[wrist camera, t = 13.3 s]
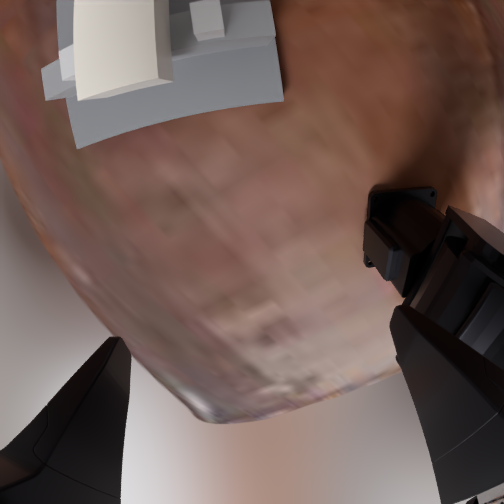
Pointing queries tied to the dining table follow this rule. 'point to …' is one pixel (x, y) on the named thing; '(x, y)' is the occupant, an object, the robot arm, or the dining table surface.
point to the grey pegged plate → (179, 69)
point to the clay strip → (120, 46)
